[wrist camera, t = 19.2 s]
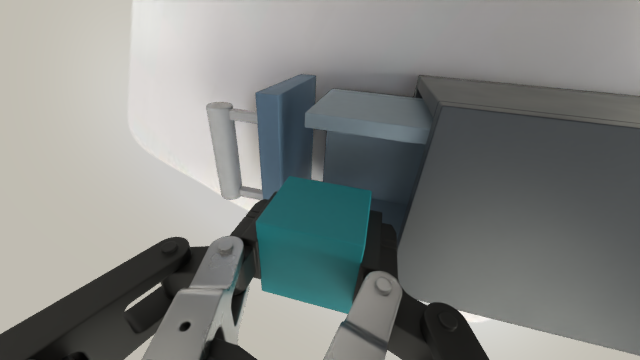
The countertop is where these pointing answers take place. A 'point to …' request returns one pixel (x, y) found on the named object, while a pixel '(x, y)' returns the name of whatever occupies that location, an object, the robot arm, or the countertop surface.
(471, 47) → the countertop surface
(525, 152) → the dark grey drawer cabinet
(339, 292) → the teal cube
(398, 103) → the blue drawer
